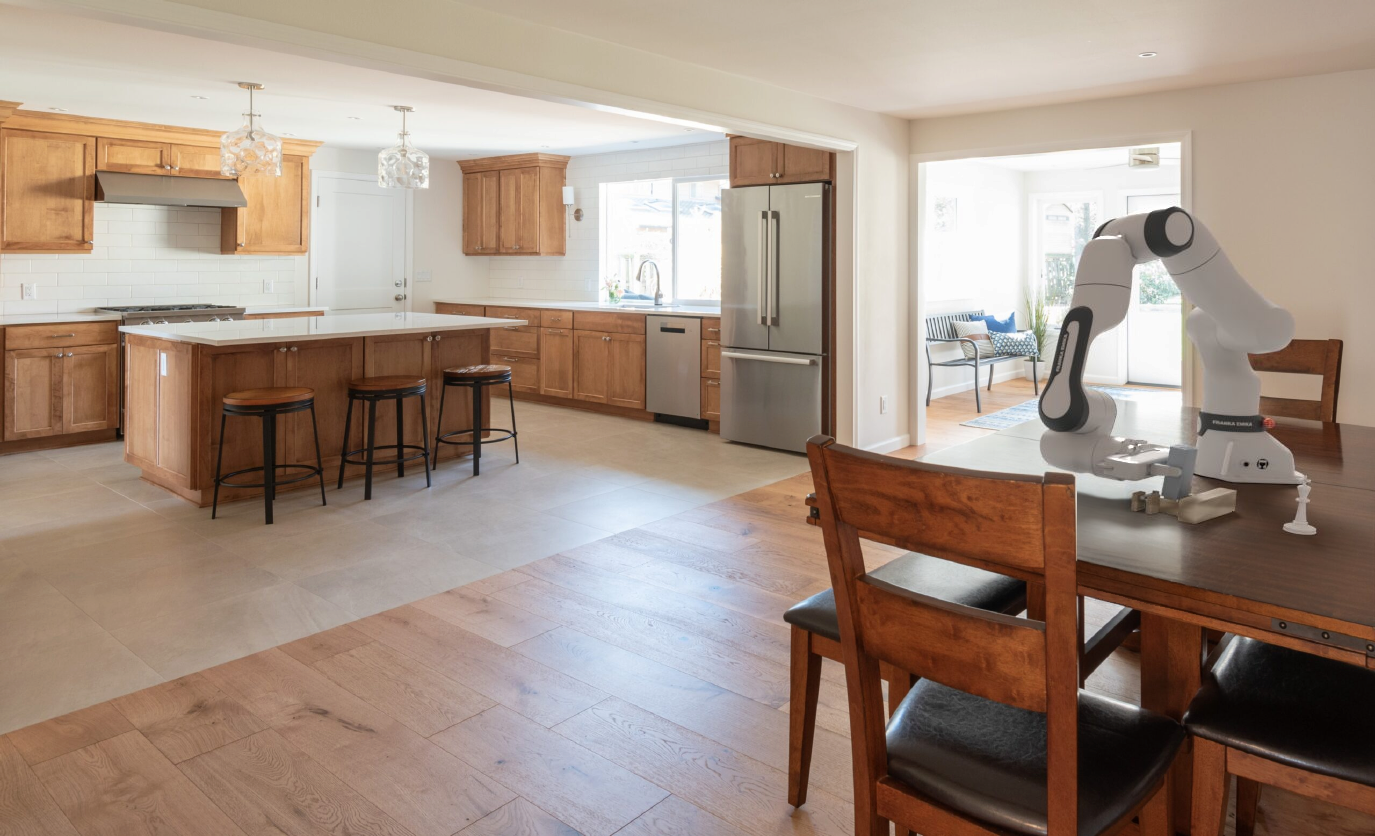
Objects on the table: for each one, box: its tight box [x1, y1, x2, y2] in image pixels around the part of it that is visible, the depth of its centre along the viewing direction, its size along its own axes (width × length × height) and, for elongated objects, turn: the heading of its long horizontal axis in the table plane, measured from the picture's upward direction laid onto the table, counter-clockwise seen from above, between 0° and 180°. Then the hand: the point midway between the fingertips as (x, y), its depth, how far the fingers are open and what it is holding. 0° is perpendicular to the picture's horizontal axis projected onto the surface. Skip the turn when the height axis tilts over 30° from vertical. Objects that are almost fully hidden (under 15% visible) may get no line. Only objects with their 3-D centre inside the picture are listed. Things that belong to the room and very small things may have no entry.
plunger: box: [1140, 490, 1160, 501], centre depth 170 cm, size 1×6×1 cm, turn 125°
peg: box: [1160, 443, 1198, 501], centre depth 169 cm, size 4×4×10 cm
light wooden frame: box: [1130, 485, 1238, 525], centre depth 170 cm, size 12×16×4 cm
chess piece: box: [1282, 475, 1317, 536], centre depth 155 cm, size 5×5×10 cm
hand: (1187, 470), depth 168 cm, fingers closed on peg, 4 cm apart
